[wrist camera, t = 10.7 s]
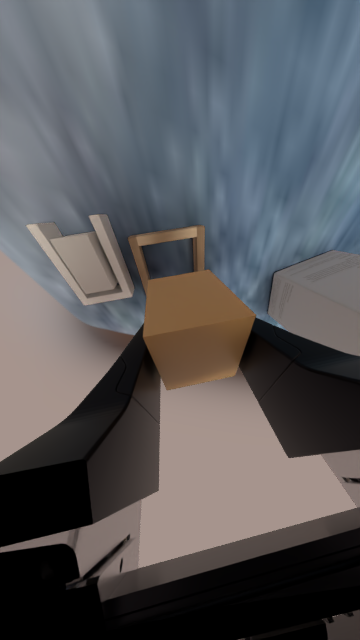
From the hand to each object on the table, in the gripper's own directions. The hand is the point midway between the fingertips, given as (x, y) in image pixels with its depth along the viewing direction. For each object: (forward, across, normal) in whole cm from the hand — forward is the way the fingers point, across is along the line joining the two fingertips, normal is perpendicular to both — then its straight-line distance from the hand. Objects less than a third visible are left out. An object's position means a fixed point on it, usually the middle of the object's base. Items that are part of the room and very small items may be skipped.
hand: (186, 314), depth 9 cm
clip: (+10, +8, -2) cm, 13 cm away
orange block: (+1, 0, 0) cm, 1 cm away
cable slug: (+10, +8, -2) cm, 13 cm away
